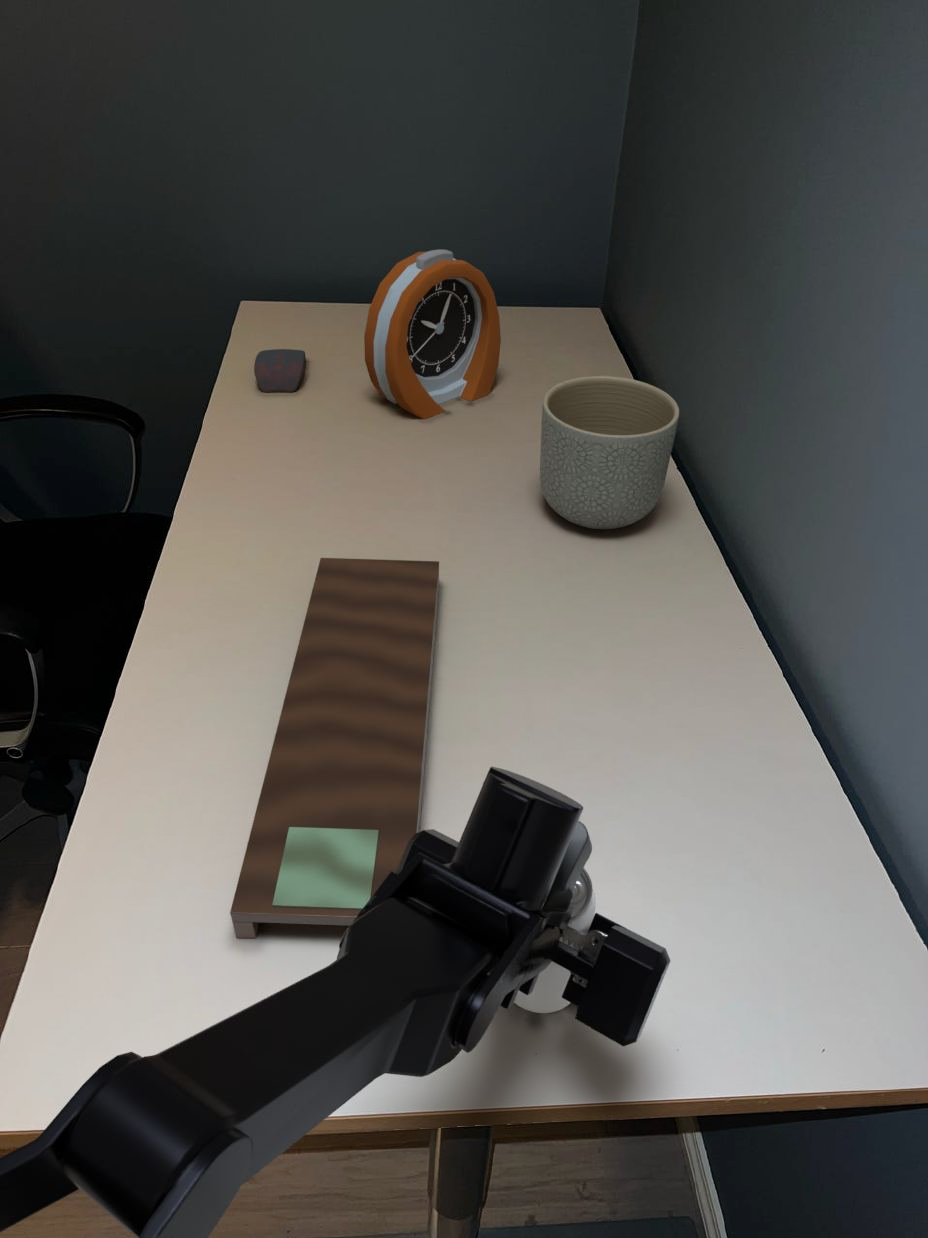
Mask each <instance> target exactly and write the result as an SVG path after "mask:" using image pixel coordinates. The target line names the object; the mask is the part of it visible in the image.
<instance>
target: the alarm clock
mask: <svg viewBox="0 0 928 1238" xmlns="http://www.w3.org/2000/svg"><path fill="white" fill-rule="evenodd" d="M381 280H382V281H380V282H379V285H378V287H377V290H376V292H375V295H374V296H373V299H372V302H371V304H370V306H369V308H368V312H367V313H368V314H367V319H366V325H365V329H364V335H363V341H364V362H365V366H366V370H367V373H368V376H369V379H370V382H371V383H372V385H373V387H374V388H375V390H376V391H377V393H378V394H379V396H381V397H382V398H384V399H385V400H387V401H389V402H391V403H392V404H394V405H396V404H397V405H398V406H399V407H400V408H402V409H403V410H405V411H406V412H408V413H410V414H412V415H414V416H415V417H417V418H419V419H423V420H424V419H425V420H426V419H429V418H432V417H435V416H437V415H440V414H442V413H445V412H446V410H445V409H444V408H443V407H442V406H441V405H440V404H443V403H445V402H448V401H451V400H454V399H457V398H459V397H461V399H464V400H466V401H468V402H473V401H475V400H479V399H481V398H483V397H486V396H489V395H490V392H491V390H492V388H493V386H494V383H495V378H496V374H497V371H498V368H499V362H500V351H501V343H502V342H501V341H502V338H501V322H500V321H501V320H500V313H499V309H498V305H497V301H496V295H495V292H494V290H493V288H492V286H491V284H490V283H489V281H488V279H487V277H486V275H485V273H484V271H483V272H482V271H481V270H480V269H478V268H476V267H475V266H473V265H472V264H471V263H469V262H468V261H465V260H462V259H456V258H455V257H454V253H453V252H452V251H451V250H448V249H432V250H428V251H417V252H416V253H414V254H412V255H410V256H408V257H406V258H403V260H400V261H398V262H396V264H395V265H394V266H393V267H392V268H391V270H390V271H389V272H388V273H387V275H385V277H384V278H383V279H381Z"/></svg>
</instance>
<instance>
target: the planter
mask: <svg viewBox="0 0 928 1238" xmlns="http://www.w3.org/2000/svg"><path fill="white" fill-rule="evenodd" d="M679 417H680V407H679V405H678V404H677V402H676V400H675V399H674V398H673V397H672V396H671V395H670V394H669V393H667V392H665V391H664V390H662V389H661V388H659V387H658V386H657V387H656V386H655V385H653V384H650V383H647V382H643V381H641V380H638V379H637V380H636V379H632V378H627V377H621V376H611V375H590V376H589V375H588V376H582V377H581V376H580V377H575V378H571V379H567V380H564V381H562V382H560V383H557V384H555V385H554V386H552V387H551V388H549V389H548V390H547V392H546V393H545V394H544V396H543V399H542V407H541V422H540V423H541V427H540V452H539V453H540V454H539V482H540V483H539V484H540V488H541V492H542V495H543V498H544V499H545V501H546V502H547V504H548V505H549V507H550V508H551V509H552V510H553V511H554V512H555V513H557V514H558V515H559V516H560V517H562V518H563V519H565V520H566V521H568V522H570V523H572V524H575V525H577V526H580V527H584V528H588V529H594V530H614V529H619V528H624V527H627V526H630V525H632V524H634V523H636V522H638V521H640V520H642V519H643V518H645V517H646V516H647V515H648V514H649V513H651V511H652V510H653V509H654V508H655V506H656V505H657V504H658V502H659V500H660V498H661V497H662V492H663V489H664V486H665V482H666V479H667V473H668V470H669V465H670V461H671V460H670V459H671V455H672V451H673V448H674V442H675V438H676V433H677V429H678V424H679Z"/></svg>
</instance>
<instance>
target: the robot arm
mask: <svg viewBox="0 0 928 1238" xmlns="http://www.w3.org/2000/svg"><path fill="white" fill-rule="evenodd" d="M583 811H584V806H583V805H582V804H581V803H579V802H578V801H576V800H575V799H573V798H571V797H570V796H567V795H566V794H564V793H562V792H560V791H558V790H556V789H554V788H552V787H550V786H548V785H546V784H543V783H540V782H539V781H536V780H533V779H531V778H529V777H526V776H524V775H521V774H518V773H517V772H513V771H511V770H508V769H505V768H500V767H496V766H490V767H489V770H487V774H486V775H485V778H484V781H483V783H482V786H481V788H480V791H479V793H478V796H477V798H476V801H475V803H474V805H473V807H472V810H471V813H470V815H469V816H468V817H469V818H468V820H467V822H466V824H465V827H464V830H463V832H462V834H461V837H460V839H459V841H457V840H456V839H454V838H452V837H450V836H447V835H446V834H444V833H442V832H440V831H438V830H436V829H434V828H432V829H431V828H430V829H423V830H419V832H418V833H416V834H415V835H414V836H413V837H412V838H411V839H410V841H409V842H408V844H407V847H406V849H405V851H404V854H403V856H402V859H401V861H400V864H399V866H398V868H397V871H396V873H394V872H392V871H391V873H390V874H389V875H388V876H387V878H386V879H385V880H384V882H383V883H382V884H381V885H380V887H379V888H378V889H377V891H376V892H375V893H374V895H373V896H372V897H371V898H370V900H369V901H368V902H367V904H366V905H365V906H364V907H363V909H362V910H361V911H360V913H359V914H358V915H357V917H356V918H355V919H354V920H353V922H352V923H351V924H350V925H348V927H347V928H346V929H345V930H344V933H343V934H342V936H341V939H340V942H339V945H338V948H339V949H338V953H337V956H336V959H335V960H334V961H333V962H331V963H330V964H329V965H327V966H325V967H324V968H321V969H319V970H317V971H316V972H313V973H312V974H309V975H308V976H306V977H304V978H302V979H300V980H298V981H296V982H294V983H292V984H290V985H288V986H286V987H284V988H283V989H281V990H278V991H277V992H275V993H272V994H271V995H269V996H266V997H265V998H262V999H261V1000H259V1001H257V1002H255V1003H254V1004H252V1005H249V1006H247V1007H246V1008H244V1009H241V1010H240V1011H238V1012H236V1013H234V1014H232V1015H230V1016H228V1017H226V1018H224V1019H222V1020H220V1021H218V1022H216V1023H214V1024H213V1025H211V1026H209V1027H207V1028H205V1029H203V1030H201V1031H198V1032H197V1033H194V1034H193V1035H191V1036H189V1037H187V1038H185V1039H183V1040H181V1041H179V1042H178V1043H175V1044H173V1045H171V1046H170V1047H167V1048H165V1049H164V1050H162V1051H160V1052H158V1053H155V1054H152V1055H146V1056H142V1055H140V1054H137V1053H136V1052H134V1051H128V1052H125V1053H121V1054H118V1055H115V1056H114V1057H113V1058H111V1059H110V1060H109V1061H107V1062H106V1063H103V1064H102V1065H101V1066H100V1067H99V1068H98V1069H97V1070H96V1071H95V1072H93V1074H92V1075H91V1076H90V1077H88V1079H87V1080H85V1082H84V1083H83V1084H82V1085H81V1086H80V1087H79V1088H78V1090H77V1091H76V1092H75V1093H74V1094H73V1095H72V1097H71V1098H70V1099H69V1101H68V1102H67V1103H66V1104H65V1105H63V1107H62V1109H61V1110H60V1111H59V1112H58V1113H57V1114H56V1116H55V1117H54V1118H53V1119H52V1120H51V1122H50V1123H49V1124H48V1125H47V1126H46V1128H45V1129H44V1130H43V1131H42V1132H41V1134H39V1136H38V1137H36V1138H35V1139H33V1140H32V1141H30V1142H28V1143H26V1144H24V1145H21V1147H18V1148H16V1149H15V1150H13V1151H11V1152H9V1153H7V1154H5V1155H3V1156H1V1157H0V1233H2V1232H4V1231H6V1230H7V1229H10V1228H12V1227H13V1226H14V1225H16V1224H18V1223H20V1222H22V1221H24V1220H25V1219H27V1218H29V1217H31V1216H33V1215H35V1214H37V1213H38V1212H40V1211H42V1210H44V1209H45V1208H47V1207H49V1206H51V1205H53V1204H55V1203H56V1202H58V1201H60V1200H62V1199H64V1198H66V1197H68V1196H69V1195H71V1194H73V1193H75V1192H77V1191H78V1190H79V1191H81V1192H82V1193H84V1194H85V1195H86V1196H87V1197H88V1198H89V1199H90V1200H92V1201H93V1202H94V1203H95V1204H96V1205H98V1206H99V1207H100V1208H101V1209H102V1210H103V1211H105V1212H106V1213H107V1214H108V1215H109V1216H110V1217H112V1218H113V1219H114V1220H115V1221H116V1222H117V1223H118V1224H120V1225H121V1226H122V1227H123V1228H125V1229H126V1230H127V1231H128V1233H130V1234H131V1235H132V1236H133V1237H135V1238H209V1236H210V1235H211V1234H212V1233H213V1231H214V1229H215V1228H216V1226H217V1225H218V1223H219V1222H220V1220H221V1219H222V1218H223V1216H224V1214H225V1213H226V1212H227V1211H228V1208H229V1207H230V1206H231V1203H232V1201H233V1200H234V1198H235V1197H236V1196H237V1194H238V1192H239V1190H240V1189H241V1187H242V1186H243V1185H244V1184H245V1183H247V1182H248V1181H249V1180H251V1179H252V1178H253V1177H254V1176H255V1175H257V1174H258V1173H260V1171H262V1170H263V1169H264V1168H266V1167H267V1166H268V1165H269V1164H271V1163H272V1162H273V1161H274V1160H275V1159H277V1158H278V1157H279V1156H281V1155H282V1154H283V1153H284V1152H285V1151H287V1150H288V1149H290V1147H292V1146H293V1145H294V1144H295V1143H297V1142H298V1141H299V1140H301V1139H302V1138H303V1137H305V1136H306V1135H307V1134H308V1133H310V1132H312V1130H314V1129H315V1128H316V1127H317V1126H318V1125H319V1124H321V1123H323V1122H324V1120H326V1119H327V1118H328V1117H329V1116H331V1115H332V1114H333V1113H334V1112H336V1111H338V1110H339V1109H340V1108H341V1107H343V1106H344V1104H346V1103H347V1102H348V1101H350V1100H351V1099H352V1098H354V1097H355V1096H356V1095H358V1093H361V1091H363V1090H364V1089H365V1088H366V1087H368V1086H369V1085H370V1084H371V1083H372V1082H373V1081H375V1080H376V1079H378V1078H380V1077H381V1076H383V1075H385V1074H387V1075H395V1076H397V1075H398V1076H406V1077H417V1078H424V1077H426V1076H430V1075H431V1074H432V1073H434V1072H436V1071H438V1070H439V1069H441V1068H442V1067H444V1066H446V1065H448V1064H449V1063H451V1062H452V1061H453V1060H454V1059H455V1058H456V1057H457V1056H458V1055H459V1054H460V1053H461V1052H462V1051H464V1052H465V1053H467V1054H469V1053H470V1052H472V1051H473V1050H474V1049H475V1048H476V1047H477V1045H478V1044H479V1043H480V1041H481V1040H482V1038H483V1037H484V1035H485V1033H486V1031H487V1030H488V1028H489V1026H490V1025H491V1023H492V1021H493V1019H494V1017H495V1015H496V1014H497V1012H498V1010H499V1008H500V1007H502V1008H504V1010H509V1009H510V1008H512V1007H513V1005H514V1004H515V1003H514V1000H515V998H516V996H517V993H518V991H521V992H522V993H524V994H526V995H529V994H530V993H532V991H533V988H534V986H535V983H536V981H537V979H538V976H539V974H540V973H541V972H542V971H543V970H545V969H546V968H547V967H548V966H549V965H550V963H551V962H554V963H556V964H558V965H560V966H562V967H563V968H565V969H567V970H569V971H570V973H571V975H570V977H569V980H568V982H567V985H566V987H565V989H564V992H563V994H562V998H563V999H565V1000H567V1001H569V1002H571V1003H570V1004H573V1005H574V1006H576V1010H575V1016H574V1020H576V1021H578V1022H579V1023H581V1024H583V1025H585V1026H586V1027H588V1028H589V1029H592V1030H593V1031H595V1032H597V1033H599V1034H600V1035H602V1036H604V1037H606V1038H607V1039H609V1040H611V1041H612V1042H615V1043H616V1044H618V1045H620V1046H622V1047H624V1048H625V1047H627V1046H629V1045H632V1044H635V1043H637V1041H638V1040H639V1038H640V1037H641V1035H642V1034H643V1031H644V1028H645V1027H646V1024H647V1021H648V1018H649V1017H650V1013H651V1011H652V1009H653V1007H654V1004H655V1001H656V999H657V996H658V993H659V991H660V989H661V986H662V984H663V981H664V978H665V976H666V974H667V971H668V968H669V966H670V963H671V962H672V961H671V958H670V955H669V953H668V951H667V948H666V947H664V946H662V945H660V944H658V943H656V942H654V941H653V940H650V939H648V938H646V937H644V936H642V935H641V934H638V933H636V932H635V931H632V930H630V929H628V928H627V927H625V926H624V925H622V924H619V923H617V922H616V921H614V920H612V919H610V918H608V917H606V916H603V915H601V914H599V913H598V912H595V915H594V918H593V920H592V923H591V925H590V928H589V930H588V933H587V934H583V933H581V932H579V931H577V930H575V929H574V928H572V927H570V926H568V923H569V920H570V918H571V916H572V913H573V911H574V908H573V907H571V906H569V905H570V903H571V900H572V898H573V893H572V891H573V889H574V886H575V884H576V882H577V880H578V878H579V876H580V874H581V872H582V870H583V868H584V869H585V866H586V864H587V862H588V861H589V860H590V856H591V855H592V852H593V844H592V841H591V837H590V835H589V832H588V829H587V827H586V825H585V824H584V823H583V822H582V821H580V818H581V815H582V813H583ZM561 937H563V942H565V941H566V940H567V939H568V945H567V944H565V943H563V942H561V941H560V938H561ZM573 942H574V948H576V947H577V946H578V945H579V951H578V950H576V949H574V948H572V947H570V946H569V945H571V944H572V943H573Z"/></svg>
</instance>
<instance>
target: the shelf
mask: <svg viewBox="0 0 928 1238" xmlns="http://www.w3.org/2000/svg"><path fill="white" fill-rule="evenodd" d="M439 592H440V561H437V560H435V561H434V560H408V559H378V558H377V559H375V558H374V559H373V558H372V559H371V558H346V557H345V558H343V557H342V558H340V557H336V558H335V557H320V558H319V563H318V567H317V570H316V575H315V577H314V582H313V587H312V590H311V593H310V598H309V602H308V606H307V610H306V614H305V617H304V618H305V619H304V621H303V625H302V629H301V633H300V637H299V641H298V645H297V649H296V652H295V656H294V659H293V660H294V661H293V664H292V669H291V673H290V677H289V680H288V685H287V687H286V691H285V696H284V700H283V704H282V706H281V712H280V716H279V719H278V723H277V727H276V731H275V735H274V739H273V744H272V746H271V750H270V755H269V759H268V762H267V766H266V771H265V774H264V779H263V782H262V786H261V790H260V794H259V799H258V802H257V806H256V809H255V813H254V817H253V822H252V825H251V828H250V833H249V837H248V841H247V845H246V849H245V853H244V857H243V861H242V864H241V869H240V872H239V876H238V880H237V884H236V887H235V893H234V896H233V900H232V904H231V908H230V912H229V915H230V919H231V923H232V926H233V930H234V934H235V938H237V939H256V938H257V934H258V930H259V926H260V923H267V924H293V925H294V924H296V925H324V926H349V925H350V924H351V923H352V922H353V920H354V919H355V918H356V917H357V915H358V914H359V913H360V911H361V910H362V909H363V907H364V906H365V905H366V904H367V902H368V901H369V900H370V898H371V897H372V896H373V895H374V893H375V892H376V891H377V889H378V888H379V887H380V885H381V884H382V883H383V882H384V880H385V879H386V878H387V876H388V875H389V874H390V873H391V871H392V872H394V873H396V871H397V868H398V866H399V864H400V861H401V859H402V856H403V854H404V851H405V849H406V847H407V844H408V842H409V841H410V839H411V838H412V837H413V836H414V835H415V834H416V833H418V832H420V825H421V815H422V802H423V790H424V777H425V764H426V752H427V741H428V729H429V727H428V726H429V715H430V703H431V689H432V680H433V679H432V678H433V668H434V667H433V665H434V653H435V642H436V629H437V628H436V627H437V616H438V615H437V614H438V602H439Z"/></svg>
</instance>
